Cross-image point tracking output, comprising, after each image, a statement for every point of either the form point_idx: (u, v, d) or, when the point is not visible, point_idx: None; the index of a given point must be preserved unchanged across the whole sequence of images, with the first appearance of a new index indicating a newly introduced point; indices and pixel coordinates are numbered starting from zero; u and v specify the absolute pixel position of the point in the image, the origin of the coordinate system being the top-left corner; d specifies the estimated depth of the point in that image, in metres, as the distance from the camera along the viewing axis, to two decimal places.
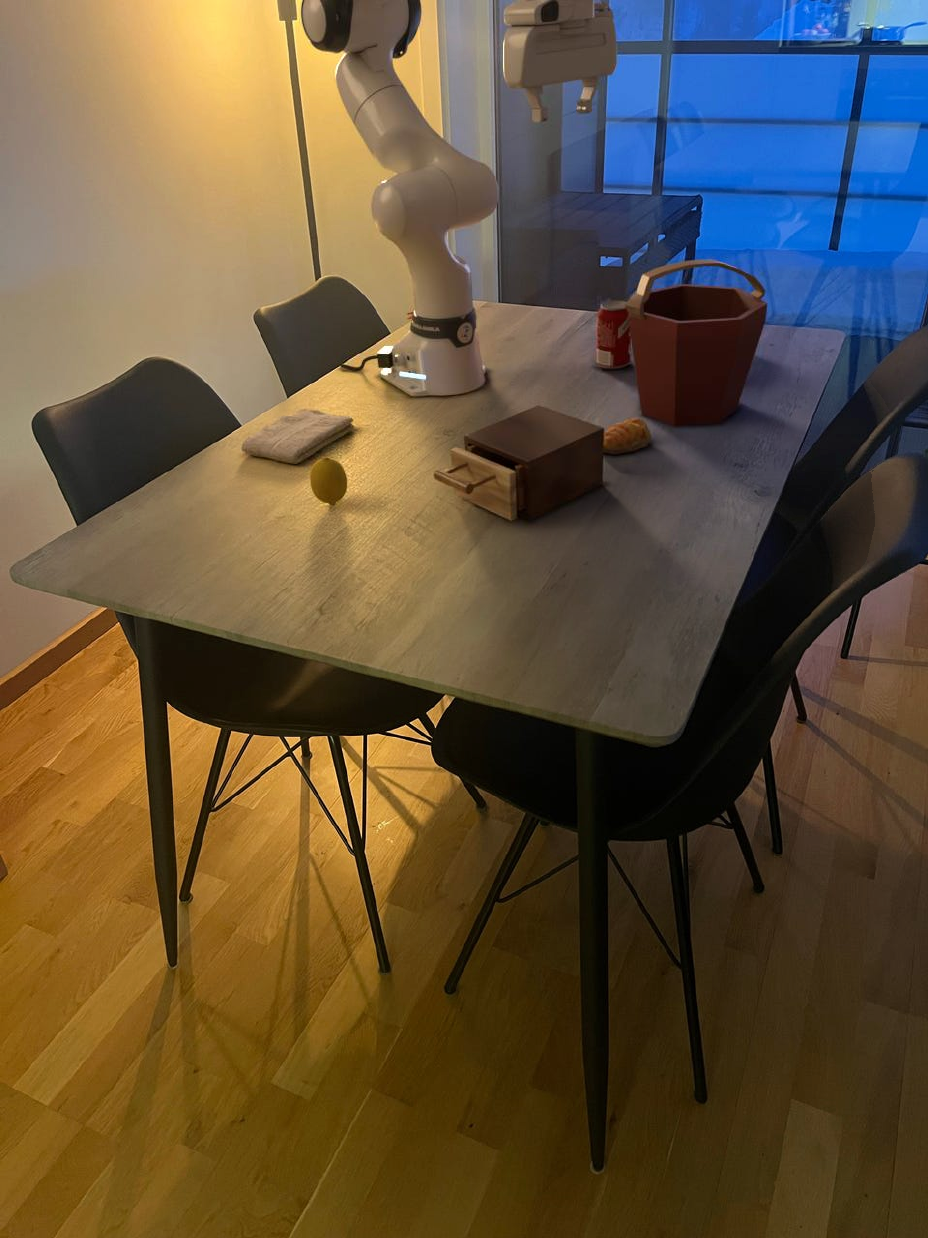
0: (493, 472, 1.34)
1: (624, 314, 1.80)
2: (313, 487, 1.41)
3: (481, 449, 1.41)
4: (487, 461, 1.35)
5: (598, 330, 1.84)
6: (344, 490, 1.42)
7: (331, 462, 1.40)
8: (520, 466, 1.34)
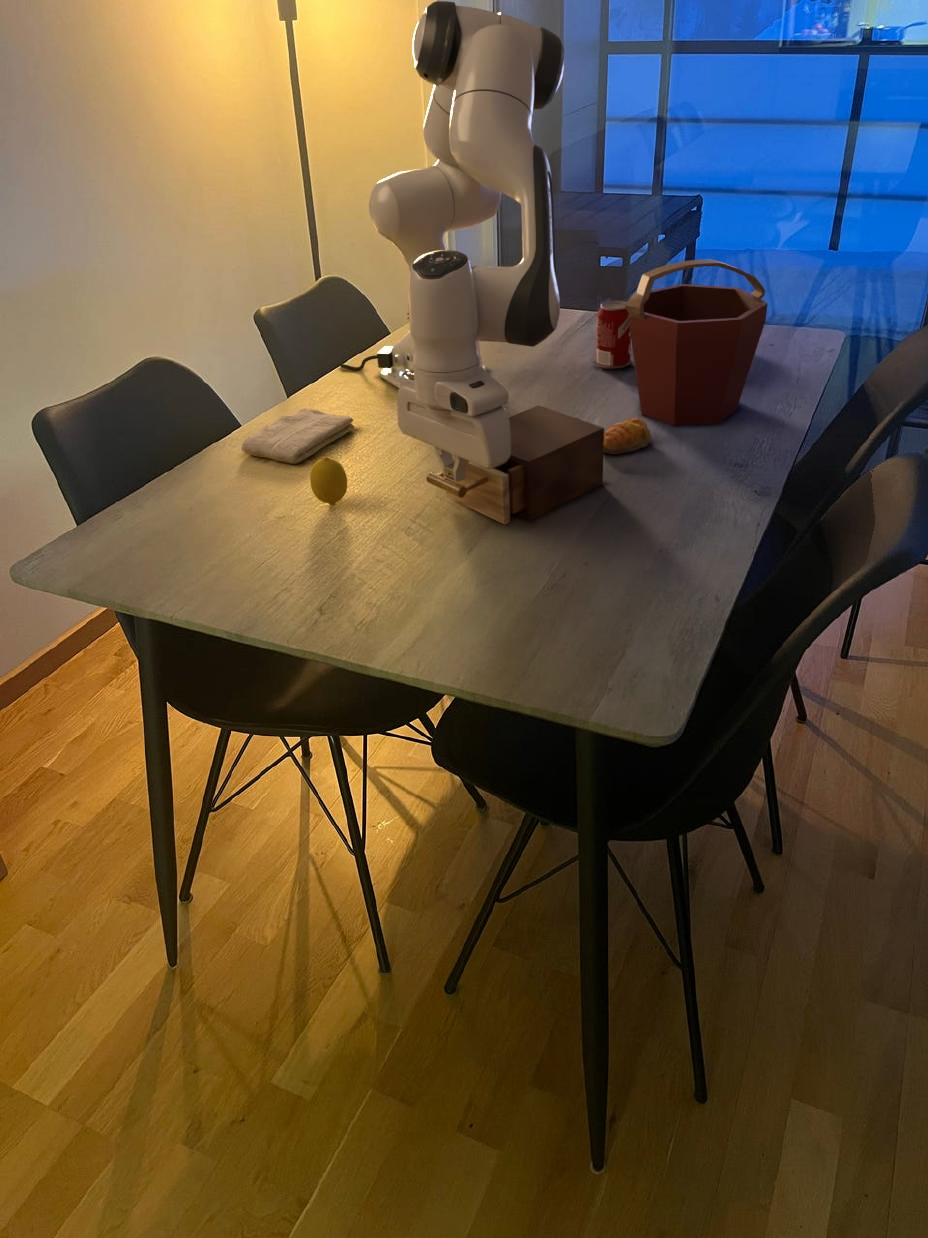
0: (486, 475, 1.33)
1: (624, 314, 1.80)
2: (313, 487, 1.41)
3: None
4: None
5: (598, 330, 1.84)
6: (344, 490, 1.42)
7: (331, 462, 1.40)
8: (513, 469, 1.33)
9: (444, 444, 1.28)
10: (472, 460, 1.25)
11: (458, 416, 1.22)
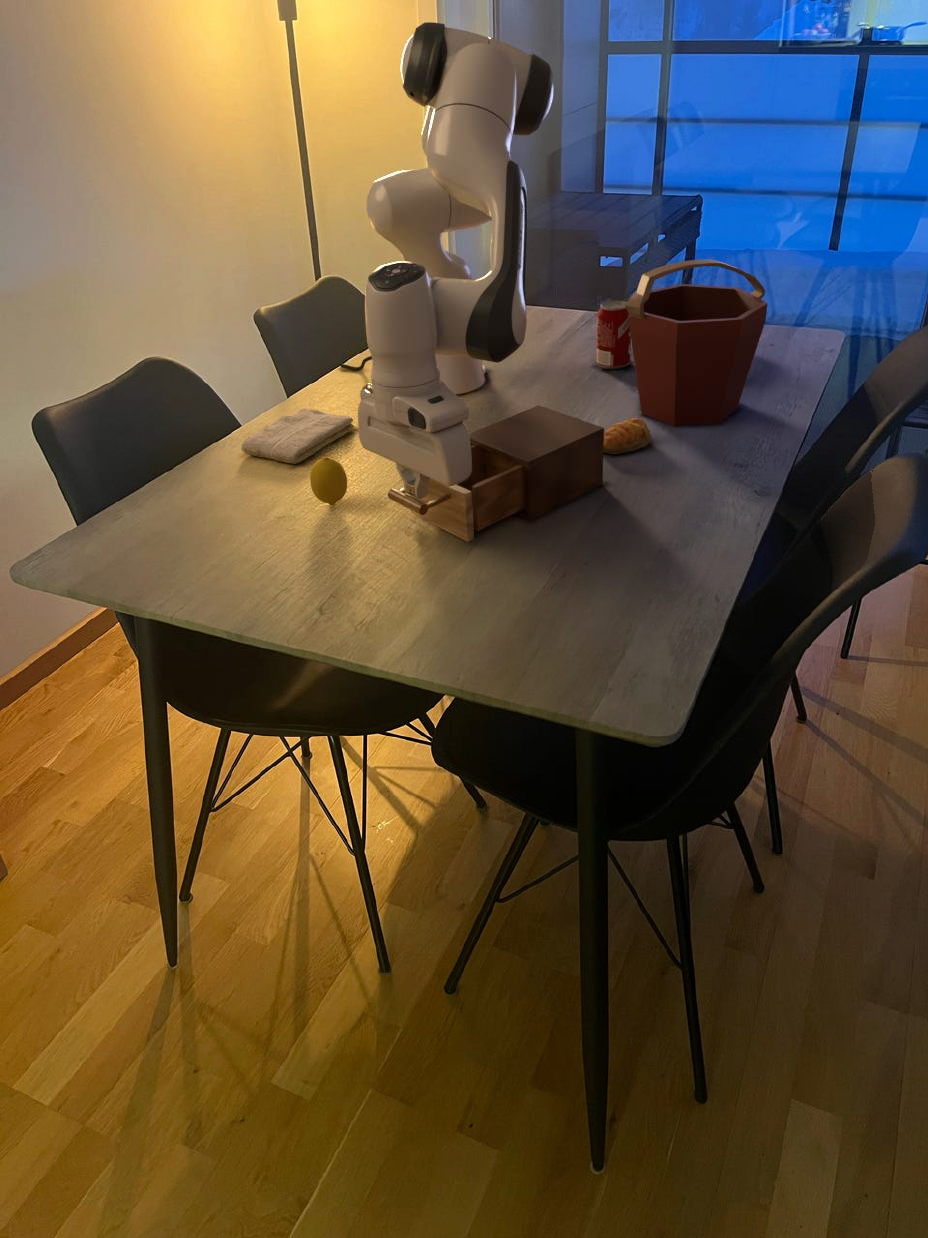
0: (449, 492, 1.29)
1: (624, 314, 1.80)
2: (313, 487, 1.41)
3: None
4: None
5: (598, 330, 1.84)
6: (344, 490, 1.42)
7: (331, 462, 1.40)
8: (477, 486, 1.29)
9: (404, 460, 1.25)
10: (432, 477, 1.21)
11: (417, 432, 1.18)
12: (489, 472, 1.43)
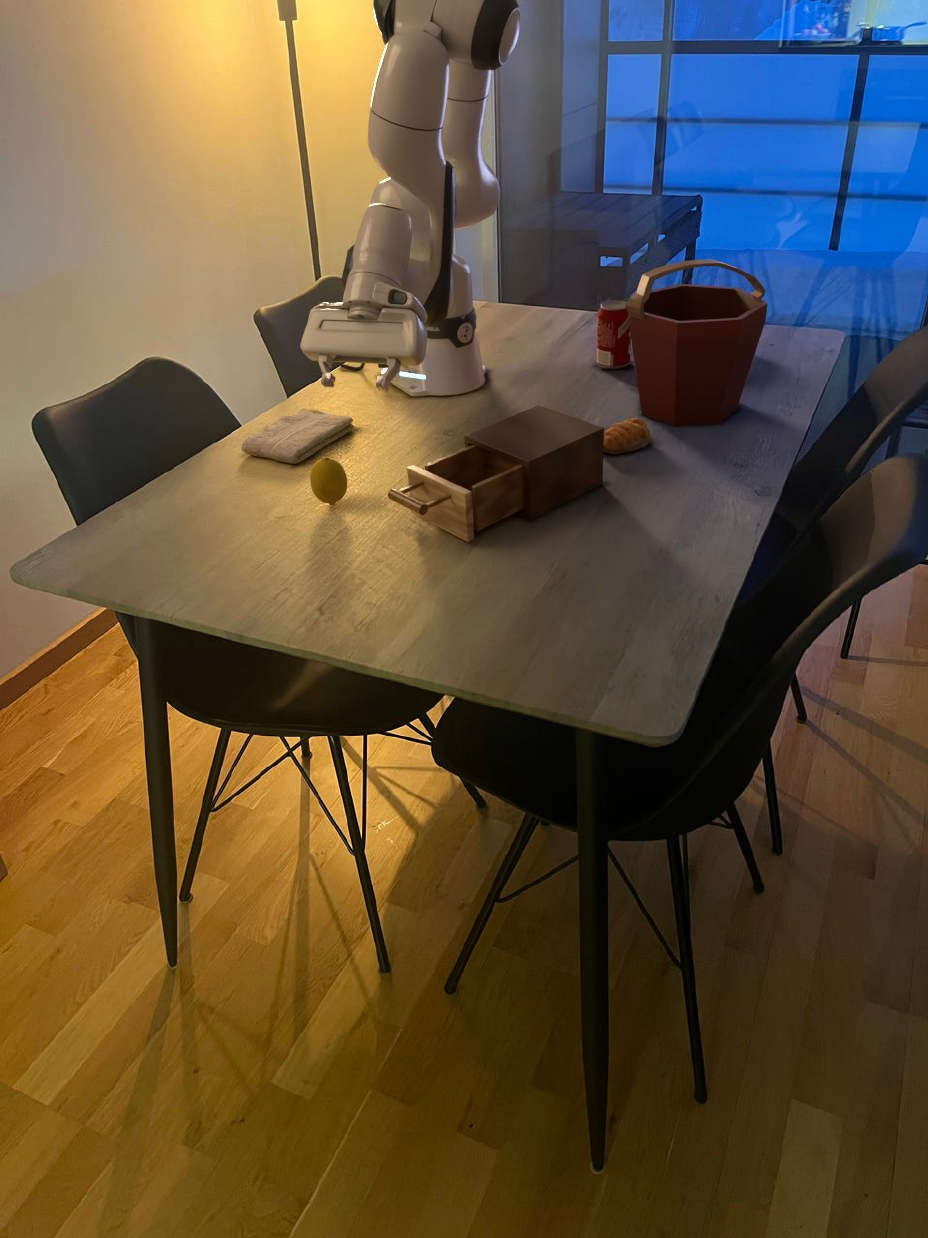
0: (449, 492, 1.29)
1: (624, 314, 1.80)
2: (313, 487, 1.41)
3: (439, 467, 1.37)
4: (443, 480, 1.31)
5: (598, 330, 1.84)
6: (344, 490, 1.42)
7: (331, 462, 1.40)
8: (477, 486, 1.29)
9: (360, 347, 1.45)
10: (392, 353, 1.43)
11: (391, 311, 1.43)
12: (489, 472, 1.43)
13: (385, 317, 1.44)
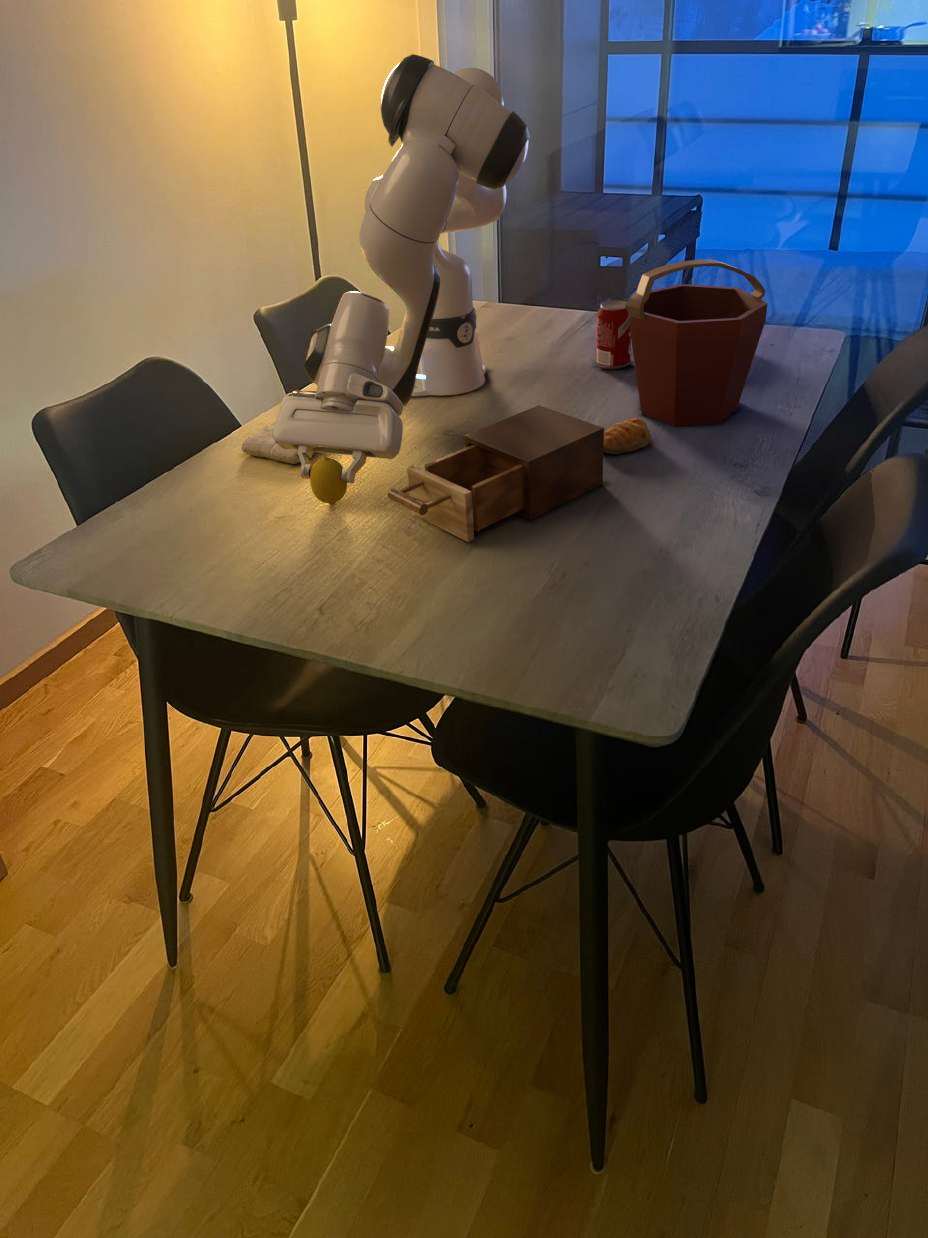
0: (449, 492, 1.29)
1: (624, 314, 1.80)
2: (313, 487, 1.41)
3: (439, 467, 1.37)
4: (443, 480, 1.31)
5: (598, 330, 1.84)
6: (344, 490, 1.42)
7: (331, 462, 1.40)
8: (477, 486, 1.29)
9: (333, 438, 1.41)
10: (366, 446, 1.39)
11: (366, 404, 1.39)
12: (489, 472, 1.43)
13: (360, 409, 1.40)
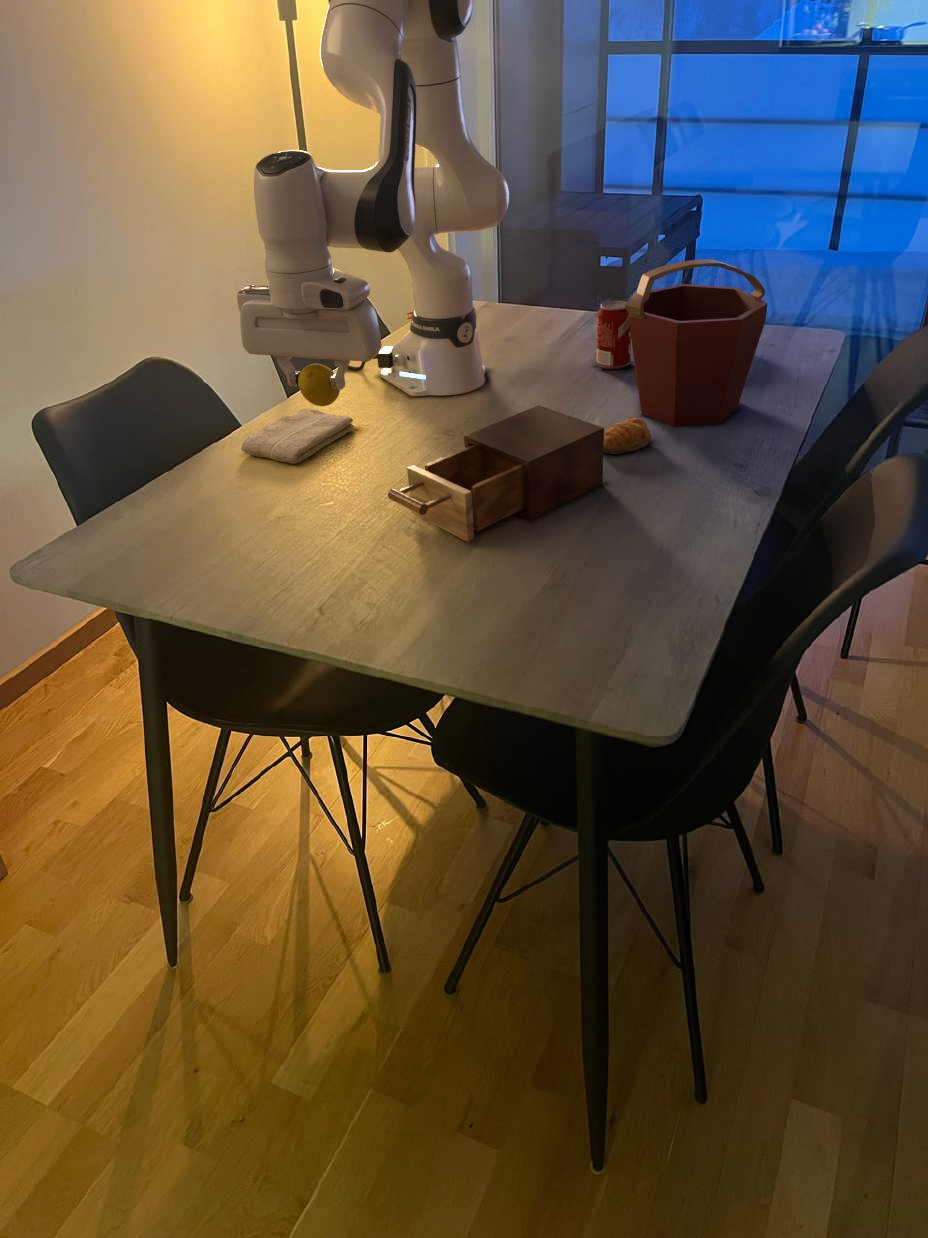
0: (449, 492, 1.29)
1: (624, 314, 1.80)
2: (307, 399, 1.35)
3: (439, 467, 1.37)
4: (443, 480, 1.31)
5: (598, 330, 1.84)
6: (338, 391, 1.35)
7: (316, 377, 1.31)
8: (477, 486, 1.29)
9: (308, 350, 1.29)
10: (346, 357, 1.28)
11: (329, 314, 1.24)
12: (489, 472, 1.43)
13: (325, 317, 1.25)
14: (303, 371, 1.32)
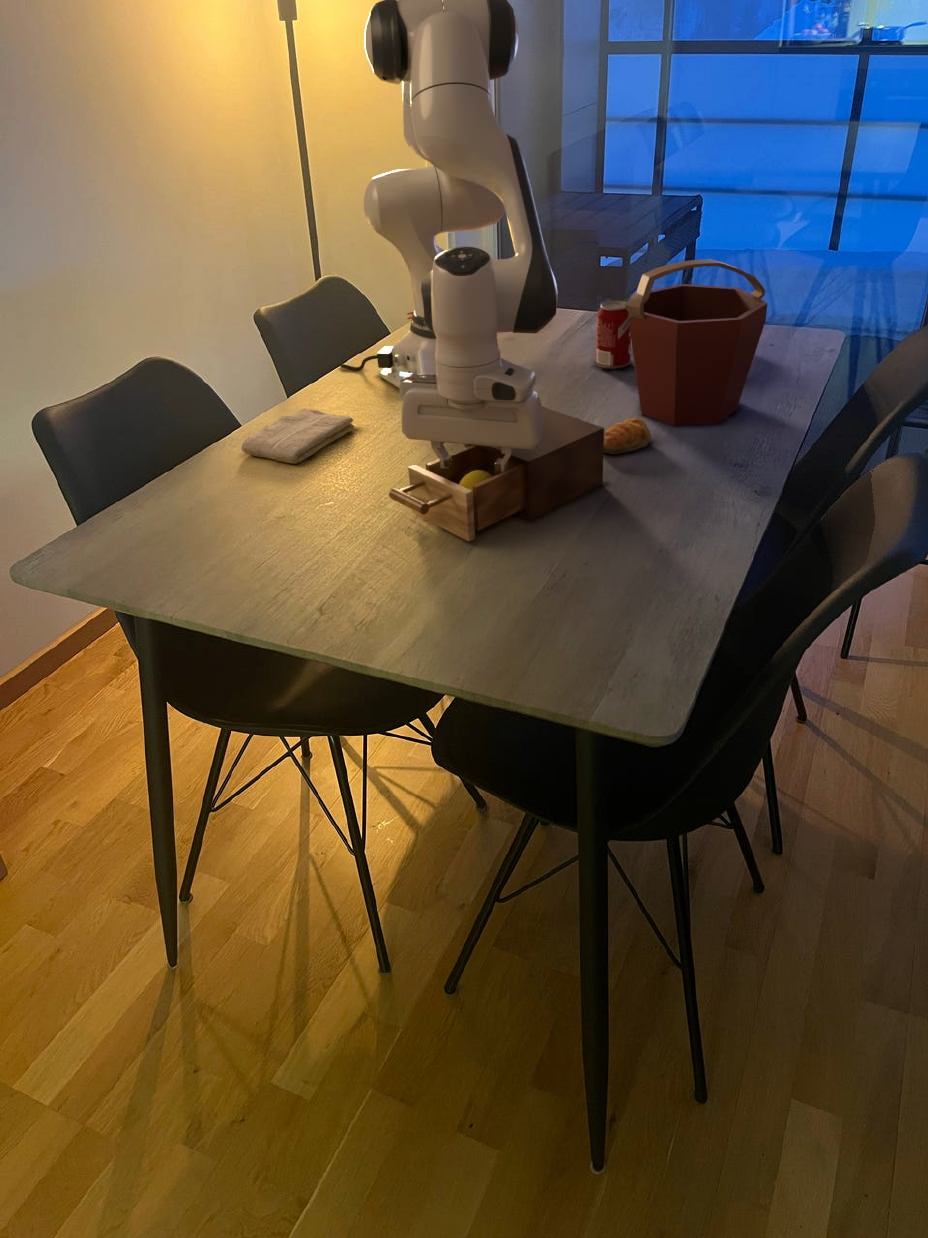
0: (450, 491, 1.29)
1: (624, 314, 1.80)
2: None
3: (440, 467, 1.37)
4: (444, 480, 1.31)
5: (598, 330, 1.84)
6: None
7: None
8: (478, 485, 1.29)
9: (471, 438, 1.30)
10: (510, 446, 1.29)
11: (499, 405, 1.25)
12: (490, 472, 1.44)
13: (493, 408, 1.26)
14: None
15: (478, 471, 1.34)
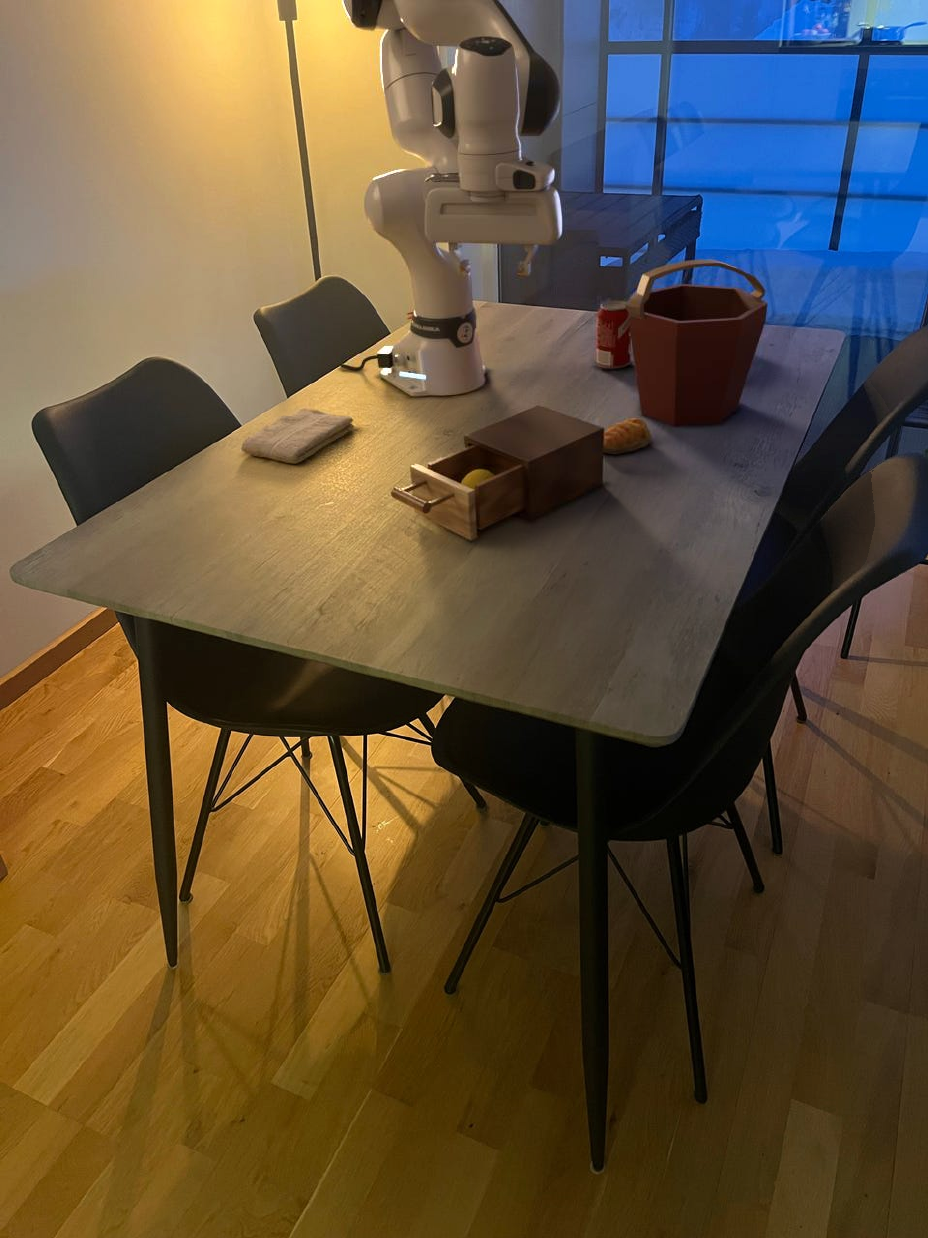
0: (452, 491, 1.30)
1: (624, 314, 1.80)
2: None
3: (442, 466, 1.37)
4: (446, 479, 1.31)
5: (598, 330, 1.84)
6: None
7: None
8: (480, 484, 1.30)
9: (492, 235, 1.35)
10: (530, 241, 1.34)
11: (519, 196, 1.30)
12: (492, 471, 1.44)
13: (513, 200, 1.31)
14: None
15: (480, 470, 1.34)
